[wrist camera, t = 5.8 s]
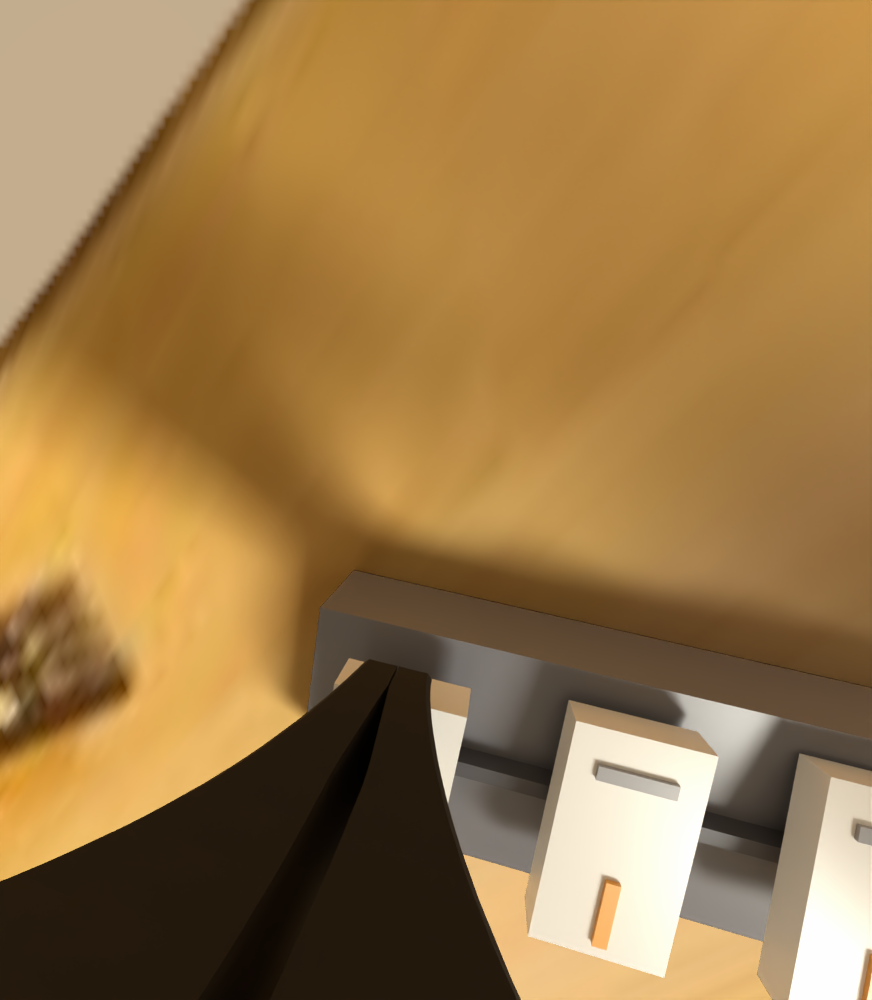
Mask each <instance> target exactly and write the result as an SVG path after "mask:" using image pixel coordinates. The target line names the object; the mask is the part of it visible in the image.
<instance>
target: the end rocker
mask: <svg viewBox="0 0 872 1000" xmlns="http://www.w3.org/2000/svg"><path fill="white" fill-rule="evenodd" d="M363 663H364V662H363V661H359V660H355V659H351V658H349V659H348V661H347V662H346V664H345V666H344V668H343V669H342V671H341V673H340V674H339V676H338V678H337V680H336V681H335V683H334V689H333V691H334V690H335V689H336V688H337V687H338V686H339V685H340V684H341V683H343V682H344V681H345V680H346V679H347V678H348V677H349V676H350V675H351V674H352V673H353V672H354V671H355V670H357V669H358V668H359V667H360V666H361V665H362V664H363ZM470 693H471V689H470V688H466V687H462V686H458V685H454V684H450V683H446V682H442V681H439V680H435V679H432V682H431V691H430V702H431V717H432V726H433V734H434V740H435V746H436V752H437V758H438V763H439V768H440V772H441V777H442V781H443V786H444V790H445V794H446V798H447V802H448V801H449V797H450V792H451V788H452V783H453V779H454V775H455V770H456V766H457V761H458V757H459V752H460V748H461V743H462V739H463V734H464V730H465V725H466V721H467V715H468V708H469V700H470Z"/></svg>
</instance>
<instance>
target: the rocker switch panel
mask: <svg viewBox="0 0 872 1000" xmlns="http://www.w3.org/2000/svg"><path fill="white" fill-rule="evenodd" d="M349 658H351V659H355V660H359V661H363V662H365V661H367V660H369V659H371V660H375V661H379V662H383V663H387V664H392V665H396V666H398V667H397V670H398V668H399V666H400V667H404V668H408V669H412V670H416V671H420V672H424V673H428V674H429V676H430V677H431V679H435V680H439V681H442V682H446V683H450V684H454V685H458V686H462V687H466V688H470V689H471V693H470V700H469V708H468V715H467V721H466V725H465V730H464V734H463V739H462V743H461V748H460V752H459V757H458V761H457V766H456V770H455V775H454V779H453V783H452V788H451V792H450V797H449V801H448V806H449V810H450V813H451V817H452V820H453V824H454V827H455V831H456V834H457V837H458V840H459V843H460V847H461V850H462V853H463V854H465V855H468V856H472V857H475V858H479V859H482V860H485V861H489V862H492V863H496V864H499V865H502V866H506V867H509V868H513V869H516V870H520V871H523V872H526V873H530V871H531V867H532V862H533V858H534V853H535V849H536V844H537V840H538V835H539V831H540V826H541V822H542V817H543V813H544V808H545V804H546V799H547V795H548V791H549V786H550V782H551V777H552V773H553V768H554V764H555V759H556V755H557V750H558V746H559V741H560V737H561V732H562V728H563V723H564V719H565V714H566V710H567V705H568V701H569V700H571V701H575V702H579V703H584V704H588V705H592V706H596V707H600V708H604V709H608V710H612V711H616V712H620V713H624V714H628V715H632V716H636V717H640V718H644V719H648V720H652V721H656V722H660V723H664V724H668V725H673V726H677V727H681V728H685V729H689V730H693V731H697V732H699V733H700V735H701V736H702V737H703V738H704V740H705V741H706V742H707V743H708V744H709V746H710V747H711V748H712V749H713V750H714V752H715V753H716V754H717V755H718V756H719V758H718V762H717V766H716V770H715V774H714V778H713V782H712V786H711V790H710V794H709V798H708V802H707V806H706V810H705V814H704V819H703V823H702V827H701V831H700V835H699V839H698V843H697V847H696V851H695V855H694V859H693V863H692V867H691V871H690V875H689V879H688V883H687V887H686V891H685V895H684V899H683V903H682V907H681V911H680V915H679V917H681V918H684V919H687V920H691V921H694V922H698V923H701V924H705V925H708V926H711V927H715V928H718V929H722V930H725V931H728V932H732V933H735V934H739V935H742V936H746V937H749V938H752V939H756V940H759V941H764V935H765V930H766V925H767V920H768V914H769V909H770V904H771V899H772V894H773V888H774V883H775V878H776V873H777V867H778V862H779V857H780V852H781V846H782V841H783V836H784V831H785V826H786V820H787V815H788V810H789V805H790V799H791V794H792V789H793V784H794V778H795V773H796V768H797V763H798V758H799V753H800V754H804V755H808V756H812V757H816V758H820V759H825V760H829V761H833V762H837V763H841V764H845V765H849V766H853V767H857V768H861V769H865V770H869V771H872V688H869V687H865V686H860V685H856V684H852V683H847V682H843V681H839V680H834V679H830V678H825V677H821V676H817V675H812V674H808V673H803V672H799V671H795V670H790V669H786V668H781V667H777V666H773V665H768V664H764V663H759V662H755V661H751V660H746V659H742V658H737V657H733V656H729V655H724V654H720V653H715V652H711V651H707V650H702V649H698V648H694V647H689V646H685V645H680V644H676V643H672V642H667V641H663V640H658V639H654V638H650V637H645V636H641V635H636V634H632V633H628V632H623V631H619V630H614V629H610V628H606V627H601V626H597V625H592V624H588V623H584V622H579V621H575V620H570V619H566V618H562V617H557V616H553V615H549V614H544V613H540V612H535V611H531V610H527V609H522V608H518V607H513V606H509V605H505V604H500V603H496V602H491V601H487V600H483V599H478V598H474V597H469V596H465V595H461V594H456V593H452V592H447V591H443V590H439V589H434V588H430V587H425V586H421V585H417V584H412V583H408V582H403V581H399V580H395V579H390V578H386V577H382V576H377V575H373V574H368V573H364V572H360V571H355V570H354V571H353V572H352V573H351V574H350V575H349V576H348V577H347V578H346V580H345V581H344V582H343V583H342V584H341V585H340V586H339V587H338V588H337V589H336V591H335V592H334V593H333V594H332V595H331V596H330V597H329V598H328V599H327V600H326V601H325V603H324V604H323V605H322V606H321V607H320V613H319V621H318V629H317V637H316V645H315V654H314V662H313V670H312V678H311V687H310V695H309V703H308V711H310V710H311V709H312V708H313V707H314V706H316V705H317V704H318V703H319V702H321V701H322V700H323V699H324V698H325V697H327V696H328V695H329V694H330V693H331V692H332V691H333V689H334V683H335V681H336V680H337V678H338V676H339V674H340V673H341V671H342V669H343V668H344V666H345V664H346V662H347V661H348V659H349ZM308 711H307V712H308Z"/></svg>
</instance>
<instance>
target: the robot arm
mask: <svg viewBox="0 0 872 1000" xmlns="http://www.w3.org/2000/svg"><path fill="white" fill-rule="evenodd" d="M397 667H398V666H396V665H392V664H387V663H383V662H379V661H375V660H371V659H369V660H367V661H365V662H364V663H363V664H362V665H361V666H360V667H359V668H358V669H357V670H355V671H354V672H353V673H352V674H351V675H350V676H349V677H348V678H347V679H346V680H345V681H344V682H343V683H341V684H340V685H339V686H338V687H337V688H336V689H335V690H334V691H332V692H331V693H330V694H329V695H328V696H327V697H325V698H324V699H323V700H322V701H321V702H319V703H318V704H317V705H316V706H314V707H313V708H312V709H311V710H310V711H308V712H307V713H306V714H305V715H303V716H302V717H301V718H300V719H298V720H297V721H296V722H294V723H293V724H292V725H290V726H289V727H288V728H286V729H285V730H284V731H282V732H281V733H279V734H278V735H277V736H275V737H274V738H273V739H271V740H270V741H269V742H267V743H266V744H264V745H263V746H262V747H260V748H259V749H257V750H256V751H254V752H253V753H251V754H250V755H248V756H247V757H245V758H244V759H242V760H241V761H239V762H238V763H236V764H235V765H233V766H232V767H230V768H228V769H227V770H225V771H223V772H222V773H220V774H219V775H217V776H215V777H214V778H212V779H210V780H209V781H207V782H205V783H204V784H202V785H200V786H199V787H197V788H195V789H193V790H191V791H190V792H188V793H186V794H184V795H182V796H181V797H179V798H177V799H175V800H174V801H172V802H170V803H168V804H166V805H165V806H163V807H161V808H159V809H157V810H155V811H153V812H152V813H150V814H148V815H146V816H144V817H142V818H140V819H138V820H136V821H134V822H132V823H130V824H128V825H126V826H124V827H122V828H120V829H118V830H116V831H114V832H111V833H109V834H107V835H105V836H103V837H101V838H99V839H96V840H94V841H92V842H90V843H88V844H86V845H84V846H82V847H79V848H77V849H75V850H73V851H71V852H69V853H66V854H64V855H62V856H60V857H57V858H55V859H53V860H51V861H48V862H46V863H44V864H41V865H39V866H37V867H34V868H32V869H30V870H27V871H25V872H22V873H20V874H18V875H15V876H13V877H11V878H8V879H5V880H3V881H0V1000H521V999H520V997H519V995H518V993H517V990H516V988H515V986H514V984H513V982H512V979H511V977H510V975H509V972H508V970H507V967H506V965H505V962H504V960H503V958H502V955H501V953H500V950H499V948H498V945H497V943H496V941H495V938H494V936H493V933H492V931H491V928H490V926H489V923H488V921H487V919H486V916H485V914H484V911H483V909H482V906H481V904H480V901H479V899H478V896H477V893H476V890H475V888H474V885H473V882H472V879H471V876H470V873H469V871H468V868H467V865H466V862H465V859H464V856H463V853H462V850H461V847H460V843H459V840H458V837H457V834H456V831H455V827H454V824H453V820H452V817H451V813H450V810H449V806H448V802H447V798H446V794H445V790H444V786H443V781H442V777H441V772H440V768H439V763H438V758H437V752H436V746H435V740H434V734H433V726H432V717H431V702H430V691H431V682H432V679H431V677H430V676H429V674H428V673H424V672H420V671H416V670H412V669H408V668H404V667H400V666H399V668H398V670H397Z"/></svg>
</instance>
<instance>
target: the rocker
mask: <svg viewBox="0 0 872 1000" xmlns="http://www.w3.org/2000/svg"><path fill="white" fill-rule="evenodd" d="M757 975H758V977H759V978H760V980H761V982H762V983H763V985H764V987H765V988H766V990H767V992H768V993H769V995H770V997H771V998H772V1000H872V771H869V770H865V769H861V768H857V767H853V766H849V765H845V764H841V763H837V762H833V761H829V760H825V759H820V758H816V757H812V756H808V755H804V754H800V753H799V758H798V763H797V768H796V773H795V778H794V784H793V789H792V794H791V799H790V805H789V810H788V815H787V820H786V826H785V831H784V836H783V841H782V846H781V852H780V857H779V862H778V867H777V873H776V878H775V883H774V888H773V894H772V899H771V904H770V909H769V914H768V920H767V925H766V930H765V935H764V941H763V946H762V951H761V956H760V961H759V967H758V972H757Z"/></svg>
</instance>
